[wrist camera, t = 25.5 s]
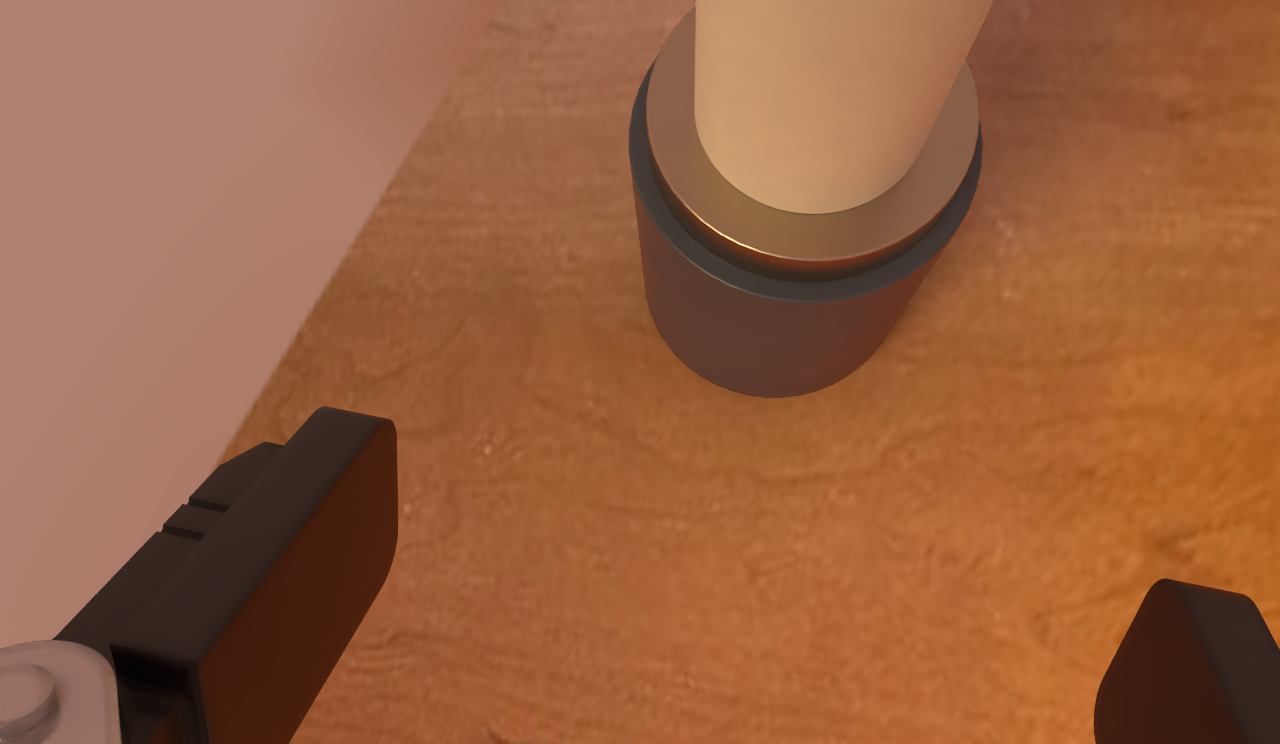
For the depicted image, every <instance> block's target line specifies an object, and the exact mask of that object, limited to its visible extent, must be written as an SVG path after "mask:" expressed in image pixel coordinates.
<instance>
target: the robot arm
mask: <svg viewBox="0 0 1280 744" xmlns="http://www.w3.org/2000/svg"><path fill="white" fill-rule="evenodd" d="M397 537H398V484H397V435H396V429H395V426H394V423H393V422H392V421H391V420H390V419H386V418H381V417H376V416H371V415H366V414H361V413H356V412H351V411H346V410H341V409H336V408H331V407H326V406H324V407H320V408H319V409H317V410H316V411H315V412H314V413H313V414H312V415H311V416H310V417H309V418H308V420H307V421H306V422H305V423H304V424H303V425H302V426H301V427H300V429H299V430H298V431H297V432H296V433H295V434H294V435H293V437H292V438H291V439H290V440H289V441H288V442H287V443H286V444H285V446H283V445H279V444H274V443H269V442H263V443H261V444H259V445H257V446H255V447H254V448H252V449H250V450H248V451H246V452H244V453H242V454H240V455H239V456H237V457H235V458H233V459H231V460H229V461H227V462H225V463H224V464H222V465H220V466H219V467H218V468H217V469H216V470H215V471H214V472H213V473H212V474H211V475H210V476H209V477H208V478H207V479H206V480H205V482H204V483H203V484H202V485H201V486H200V487H199V488H198V489H197V490H196V491H195V492H194V493H193V494H192V495H191V496H190V497H189V502H188V504H187V505H185V504H183V505H181V507H180V508H179V509H178V510H177V511H176V512H175V513H174V514H173V515H172V516H171V517H170V518H169V519H168V520H167V521H166V522H165V523H164V524H163V529H162V531H161V532H156V533H155V534H154V535H153V536H152V537H151V538H150V539H149V540H148V541H147V542H146V543H145V544H144V545H143V546H142V547H141V548H140V549H139V550H138V551H137V552H136V553H135V554H134V556H133V557H132V558H131V559H130V560H129V561H128V562H127V563H126V564H125V565H124V566H123V567H122V568H121V569H120V570H119V571H118V572H117V573H116V574H115V575H114V576H113V578H111V580H110V581H109V582H108V583H107V584H106V585H105V586H104V587H103V588H102V589H101V590H100V591H99V592H98V593H97V594H96V595H95V596H94V597H93V598H92V599H91V600H90V602H89V603H87V605H86V606H85V607H84V608H83V609H82V610H81V611H80V612H79V613H78V614H77V615H76V616H75V617H74V618H73V619H72V620H71V621H70V622H69V623H68V624H67V625H66V626H65V627H64V628H63V630H62V631H61V632H60V633H59V634H58V635H57V636H56V637H54V638H53V639H52V640H44V641H32V642H26V643H21V644H16V645H12V646H9V647H5V648H1V649H0V744H289V742H290V740H291V739H292V737H293V735H294V734H295V732H296V730H297V729H298V727H299V725H300V724H301V722H302V720H303V719H304V717H305V715H306V714H307V712H308V710H309V709H310V707H311V705H312V704H313V702H314V700H315V698H316V697H317V695H318V693H319V692H320V690H321V688H322V687H323V685H324V683H325V682H326V680H327V678H328V677H329V675H330V673H331V672H332V670H333V668H334V667H335V665H336V663H337V662H338V660H339V658H340V657H341V655H342V653H343V652H344V650H345V648H346V647H347V645H348V643H349V641H350V640H351V638H352V636H353V635H354V633H355V631H356V630H357V628H358V626H359V625H360V623H361V621H362V620H363V618H364V616H365V615H366V613H367V611H368V610H369V608H370V606H371V605H372V603H373V601H374V600H375V598H376V596H377V595H378V593H379V591H380V590H381V588H382V586H383V584H384V582H385V580H386V578H387V576H388V573H389V570H390V568H391V565H392V562H393V558H394V554H395V550H396V544H397ZM1094 734H1095V741H1096V744H1280V650H1279V648H1278V646H1277V644H1276V642H1275V640H1274V638H1273V637H1272V635H1271V633H1270V631H1269V629H1268V627H1267V625H1266V623H1265V621H1264V619H1263V618H1262V616H1261V614H1260V612H1259V610H1258V608H1257V607H1256V605H1255V603H1254V602H1253V601H1252V600H1251V599H1250V598H1249V597H1247V596H1246V595H1244V594H1240V593H1235V592H1230V591H1225V590H1220V589H1215V588H1210V587H1205V586H1200V585H1195V584H1191V583H1186V582H1181V581H1176V580H1171V579H1161V580H1159V581H1157V582H1156V583H1155V584H1154V585H1153V586H1152V587H1151V588H1150V590H1149V591H1148V593H1147V595H1146V596H1145V598H1144V600H1143V602H1142V604H1141V606H1140V608H1139V610H1138V612H1137V614H1136V616H1135V618H1134V620H1133V622H1132V623H1131V625H1130V627H1129V629H1128V631H1127V633H1126V635H1125V637H1124V639H1123V641H1122V643H1121V645H1120V647H1119V649H1118V650H1117V652H1116V654H1115V656H1114V658H1113V660H1112V662H1111V664H1110V666H1109V668H1108V670H1107V672H1106V674H1105V676H1104V677H1103V680H1102V682H1101V684H1100V687H1099V690H1098V693H1097V698H1096V703H1095V711H1094Z"/></svg>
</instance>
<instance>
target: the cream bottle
mask: <svg viewBox="0 0 1280 744" xmlns="http://www.w3.org/2000/svg"><path fill="white" fill-rule="evenodd" d="M993 1H994V0H696V31H695V96H694V115H695V122H696V128H697V132H698V135H699V138H700V141H701V144H702V146H703V148H704V150H705V152H706V154H707V156H708V157H709V159H710V160H711V162H712V164H713V165H714V167H715V168H716V169H717V170H718V171H719V172H720V174H721V175H722V176H723V177H724V178H725V179H726V180H727V181H728V182H730V183H731V184H732V185H733V186H734V187H735V188H737V189H738V190H740V191H741V192H742V193H744V194H745V195H747V196H749V197H750V198H752V199H754V200H756V201H758V202H760V203H762V204H765V205H768V206H771V207H773V208H776V209H780V210H784V211H789V212H795V213H803V214H825V213H832V212H839V211H843V210H847V209H851V208H854V207H857V206H860V205H862V204H865V203H867V202H869V201H871V200H873V199H875V198H877V197H878V196H880V195H882V194H883V193H885V192H886V191H887V190H889V189H890V188H891V187H893V186H894V185H895V184H896V183H897V182H898V181H899V180H900V179H901V178H902V177H903V176H904V175H905V174H906V173H907V171H908V170H909V169H910V167H911V166H912V165H913V163H914V162H915V160H916V158H917V156H918V155H919V153H920V151H921V149H922V147H923V145H924V143H925V141H926V139H927V137H928V135H929V133H930V131H931V128H932V126H933V124H934V122H935V120H936V118H937V116H938V114H939V112H940V110H941V108H942V106H943V104H944V102H945V100H946V98H947V96H948V94H949V92H950V89H951V87H952V85H953V83H954V81H955V79H956V77H957V75H958V73H959V71H960V69H961V67H962V65H963V63H964V61H965V59H966V57H967V55H968V53H969V51H970V48H971V46H972V44H973V42H974V40H975V38H976V36H977V34H978V32H979V30H980V28H981V26H982V24H983V22H984V20H985V18H986V16H987V14H988V12H989V10H990V7H991V5H992V3H993Z"/></svg>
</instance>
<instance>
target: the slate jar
mask: <svg viewBox="0 0 1280 744" xmlns="http://www.w3.org/2000/svg"><path fill="white" fill-rule="evenodd" d="M695 31H696V6H695V7H694V8H693V9H692V10H691V11H690V12H688V13H687V15H686V16H685V17H684V18H683V19H682V20H681V21H680V23H679V24H678V25H677V26H676V27H675V28H674V30H673V31H672V33H671V34H670V36H669V37H668V39H667V40H666V42H665V43H664V45H663V47H662V49H661V51H660V53H659V54H658V56H657V58H656V59H655V61H654V62H653V64H652V65H651V67H650V68H649V70H648V71H647V73H646V75H645V77H644V80H643V82H642V84H641V86H640V88H639V90H638V93H637V97H636V100H635V103H634V106H633V109H632V116H631V122H630V128H629V155H630V164H631V172H632V180H633V189H634V197H635V206H636V214H637V222H638V231H639V239H640V248H641V256H642V264H643V273H644V281H645V289H646V297H647V301H648V305H649V309H650V312H651V315H652V317H653V320H654V322H655V324H656V327H657V329H658V330H659V332H660V334H661V335H662V337H663V339H664V340H665V342H666V343H667V345H668V346H669V347H670V348H671V350H672V351H673V352H674V353H675V355H676V356H677V357H678V358H680V359H681V360H682V361H683V362H684V363H685V364H686V365H687V366H688V367H689V368H691V369H692V370H693V371H695V372H696V373H697V374H699V375H700V376H702V377H703V378H705V379H707V380H709V381H711V382H712V383H714V384H716V385H718V386H721V387H723V388H726V389H728V390H731V391H734V392H738V393H742V394H746V395H751V396H759V397H790V396H798V395H803V394H807V393H811V392H814V391H818V390H820V389H823V388H825V387H828V386H830V385H832V384H834V383H836V382H838V381H840V380H841V379H843V378H845V377H847V376H848V375H849V374H851V373H852V372H853V371H855V370H856V369H857V368H859V367H860V366H861V365H862V364H863V363H864V362H865V361H866V360H867V359H868V358H869V357H870V356H871V355H872V354H873V352H874V351H875V350H876V348H877V347H878V346H879V344H880V343H881V342H882V340H883V339H884V337H885V336H886V334H887V333H888V331H889V330H890V328H891V327H892V325H893V324H894V323H895V321H896V320H897V318H898V317H899V315H900V314H901V312H902V311H903V309H904V308H905V306H906V305H907V303H908V302H909V300H910V299H911V297H912V296H913V294H914V293H915V291H916V290H917V288H918V287H919V285H920V284H921V282H922V281H923V280H924V278H925V277H926V275H927V274H928V272H929V271H930V269H931V268H932V266H933V265H934V263H935V262H936V260H937V259H938V257H939V256H940V254H941V253H942V251H943V250H944V248H945V247H946V245H947V244H948V242H949V241H950V239H951V238H952V237H953V235H954V234H955V232H956V231H957V229H958V228H959V226H960V224H961V222H962V220H963V219H964V217H965V215H966V213H967V211H968V210H969V208H970V205H971V202H972V200H973V197H974V194H975V192H976V189H977V185H978V180H979V175H980V171H981V162H982V135H981V125H980V120H979V116H980V115H979V103H978V94H977V90H976V86H975V81H974V77H973V74H972V71H971V69H970V66H969V64H968V61H967V59H965V61H964V63H963V65H962V67H961V69H960V71H959V73H958V75H957V77H956V79H955V81H954V83H953V85H952V87H951V89H950V92H949V94H948V96H947V98H946V100H945V102H944V104H943V106H942V108H941V110H940V112H939V114H938V116H937V118H936V120H935V122H934V124H933V126H932V128H931V131H930V133H929V135H928V137H927V139H926V141H925V143H924V145H923V147H922V149H921V151H920V153H919V155H918V156H917V158H916V160H915V162H914V163H913V165H912V166H911V167H910V169H909V170H908V171H907V173H906V174H905V175H904V176H903V177H902V178H901V179H900V180H899V181H898V182H897V183H896V184H895V185H894V186H893V187H891V188H890V189H889V190H887V191H886V192H885V193H883V194H882V195H880V196H878V197H877V198H875V199H873V200H871V201H869V202H867V203H865V204H862V205H860V206H857V207H854V208H851V209H847V210H843V211H839V212H832V213H825V214H803V213H795V212H789V211H784V210H780V209H776V208H773V207H771V206H768V205H765V204H762V203H760V202H758V201H756V200H754V199H752V198H750V197H749V196H747V195H745V194H744V193H742V192H741V191H740V190H738V189H737V188H735V187H734V186H733V185H732V184H731V183H730V182H728V181H727V180H726V179H725V178H724V177H723V176H722V175H721V174H720V172H719V171H718V170H717V169H716V168H715V167H714V165H713V164H712V162H711V160H710V159H709V157H708V156H707V154H706V152H705V150H704V148H703V146H702V144H701V141H700V138H699V135H698V132H697V128H696V122H695V115H694V96H695Z"/></svg>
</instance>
